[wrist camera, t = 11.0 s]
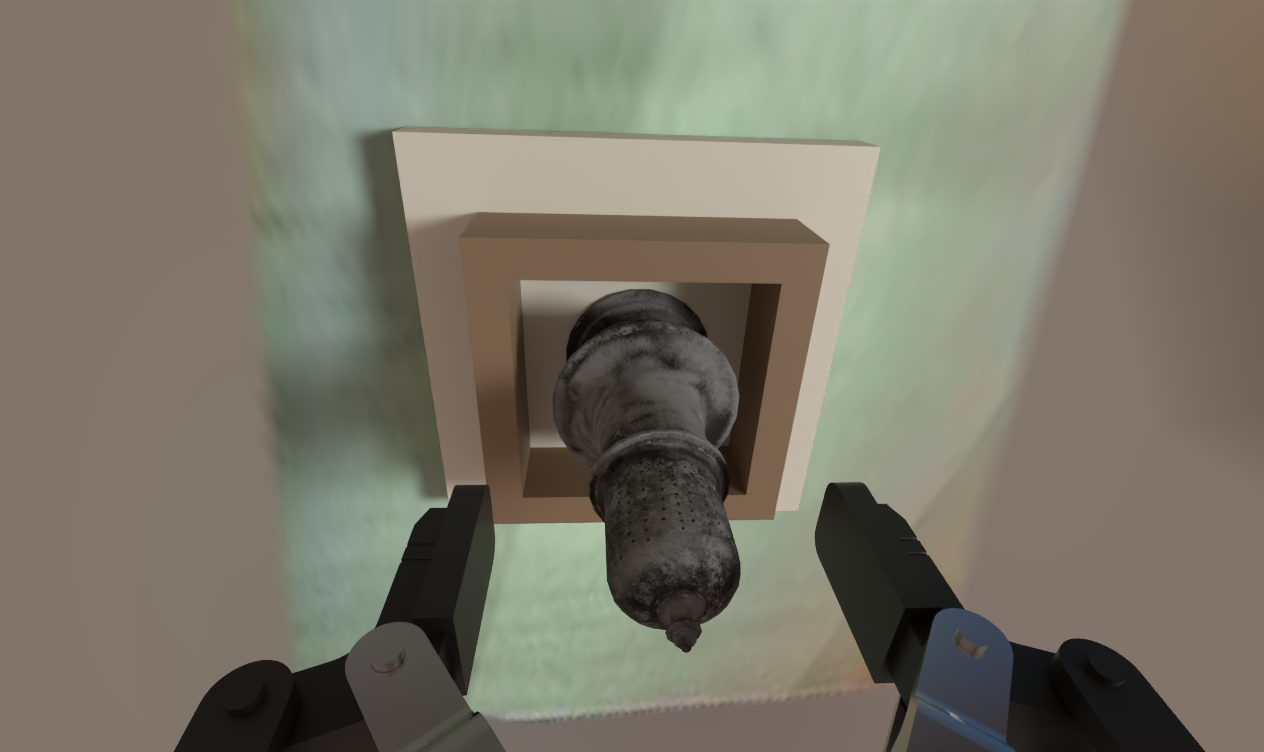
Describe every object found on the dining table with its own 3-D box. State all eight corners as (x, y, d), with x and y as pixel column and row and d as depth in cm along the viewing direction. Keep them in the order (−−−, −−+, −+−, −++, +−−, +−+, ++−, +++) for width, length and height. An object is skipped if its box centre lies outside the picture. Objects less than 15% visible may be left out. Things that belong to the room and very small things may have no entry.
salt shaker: (544, 291, 20) (493, 557, 9) (714, 270, 20) (858, 512, 9) (571, 431, 22) (555, 757, 12) (719, 413, 22) (833, 722, 12)
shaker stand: (406, 126, 18) (355, 144, 14) (861, 141, 19) (930, 161, 15) (458, 492, 25) (433, 570, 22) (787, 488, 27) (821, 562, 23)
